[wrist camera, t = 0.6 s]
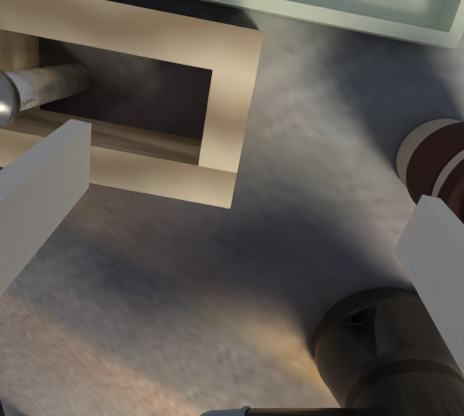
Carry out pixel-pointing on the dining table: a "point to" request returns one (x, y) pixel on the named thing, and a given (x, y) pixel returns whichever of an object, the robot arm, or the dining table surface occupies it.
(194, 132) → the dining table surface
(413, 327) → the robot arm
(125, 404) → the dining table surface
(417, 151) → the coffee cup
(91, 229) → the dining table surface
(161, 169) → the open wooden box
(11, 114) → the steel bolt
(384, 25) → the sage tray
